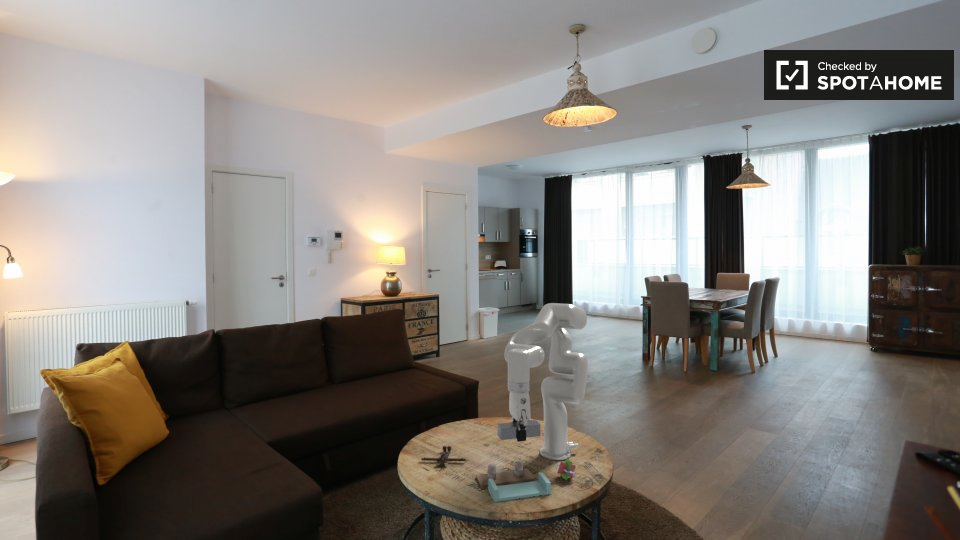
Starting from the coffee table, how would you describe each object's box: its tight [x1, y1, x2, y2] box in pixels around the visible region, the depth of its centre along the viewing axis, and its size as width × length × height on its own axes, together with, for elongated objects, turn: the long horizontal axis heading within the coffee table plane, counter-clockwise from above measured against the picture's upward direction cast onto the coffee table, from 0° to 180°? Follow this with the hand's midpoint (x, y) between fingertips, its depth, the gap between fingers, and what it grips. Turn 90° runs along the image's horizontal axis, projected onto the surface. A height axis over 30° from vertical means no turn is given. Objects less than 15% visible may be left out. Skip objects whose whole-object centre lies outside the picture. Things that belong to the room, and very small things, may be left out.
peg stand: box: [475, 460, 536, 489], centre depth 172 cm, size 20×8×6 cm, turn 103°
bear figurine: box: [420, 445, 467, 467], centre depth 189 cm, size 18×4×14 cm
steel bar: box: [496, 419, 541, 441], centre depth 162 cm, size 14×4×4 cm, turn 103°
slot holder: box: [487, 471, 552, 503], centre depth 162 cm, size 20×8×4 cm, turn 103°
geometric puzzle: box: [555, 458, 577, 482], centre depth 172 cm, size 7×7×8 cm
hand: (519, 437), depth 162 cm, fingers closed on steel bar, 4 cm apart
